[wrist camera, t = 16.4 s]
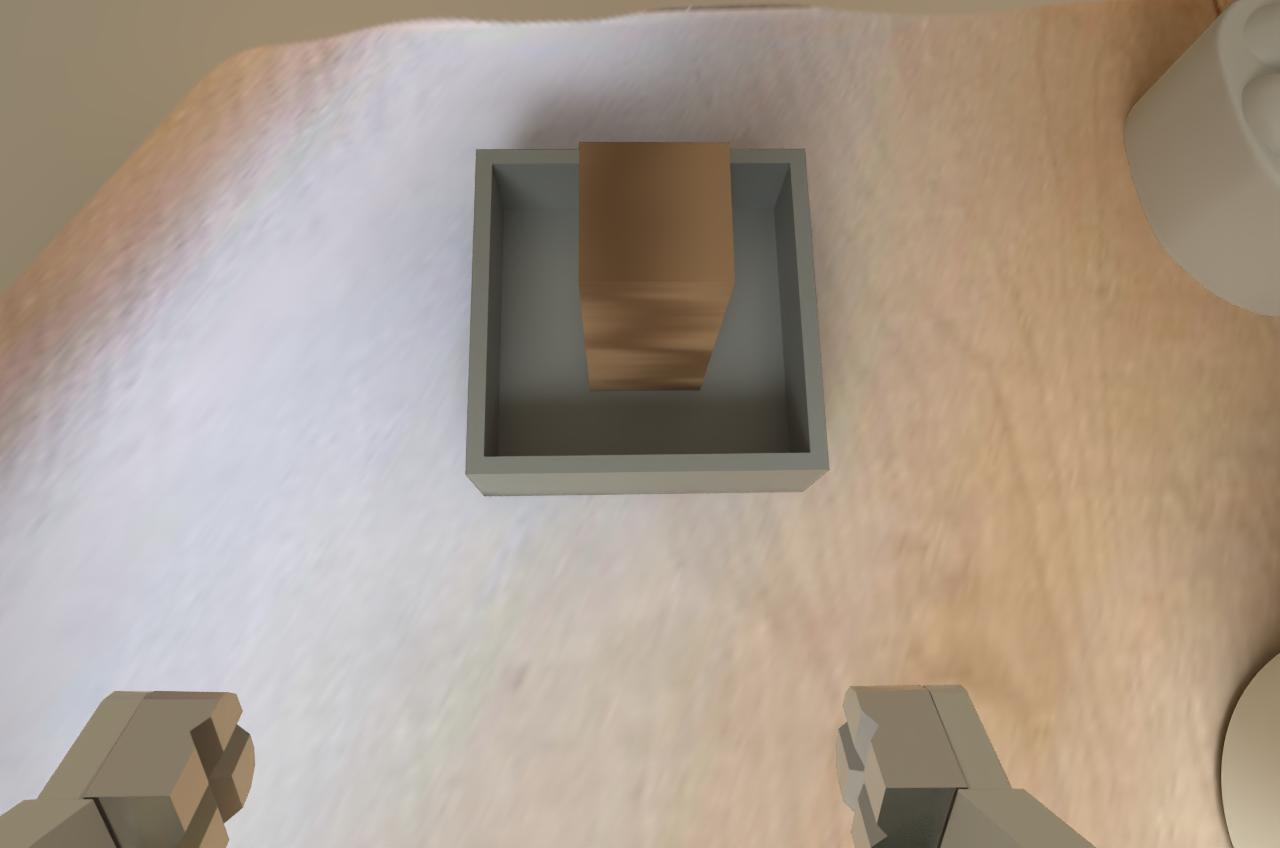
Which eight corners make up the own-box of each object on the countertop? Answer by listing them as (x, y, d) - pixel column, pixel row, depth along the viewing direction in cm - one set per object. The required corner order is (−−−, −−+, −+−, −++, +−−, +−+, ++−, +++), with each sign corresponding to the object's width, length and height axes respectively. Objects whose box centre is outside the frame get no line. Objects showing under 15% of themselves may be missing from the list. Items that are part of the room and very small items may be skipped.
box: (783, 205, 43) (804, 148, 38) (802, 491, 39) (829, 469, 34) (492, 206, 42) (476, 149, 37) (484, 496, 39) (465, 474, 34)
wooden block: (696, 288, 40) (728, 142, 29) (700, 390, 39) (735, 281, 27) (590, 288, 40) (578, 142, 29) (589, 390, 39) (578, 281, 27)
